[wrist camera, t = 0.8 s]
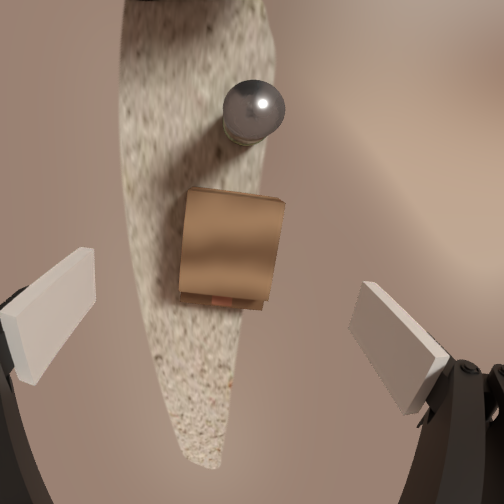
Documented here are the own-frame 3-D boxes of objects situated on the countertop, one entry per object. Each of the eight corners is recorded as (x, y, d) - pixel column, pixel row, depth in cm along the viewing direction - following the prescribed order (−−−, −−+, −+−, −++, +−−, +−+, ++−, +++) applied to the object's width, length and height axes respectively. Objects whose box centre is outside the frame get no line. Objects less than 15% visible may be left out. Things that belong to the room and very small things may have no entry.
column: (226, 100, 32) (227, 74, 21) (271, 107, 33) (290, 85, 22) (219, 143, 33) (217, 134, 23) (264, 149, 34) (281, 143, 24)
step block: (192, 186, 34) (187, 190, 30) (277, 197, 36) (285, 203, 31) (182, 293, 38) (177, 311, 33) (259, 301, 39) (264, 320, 35)
